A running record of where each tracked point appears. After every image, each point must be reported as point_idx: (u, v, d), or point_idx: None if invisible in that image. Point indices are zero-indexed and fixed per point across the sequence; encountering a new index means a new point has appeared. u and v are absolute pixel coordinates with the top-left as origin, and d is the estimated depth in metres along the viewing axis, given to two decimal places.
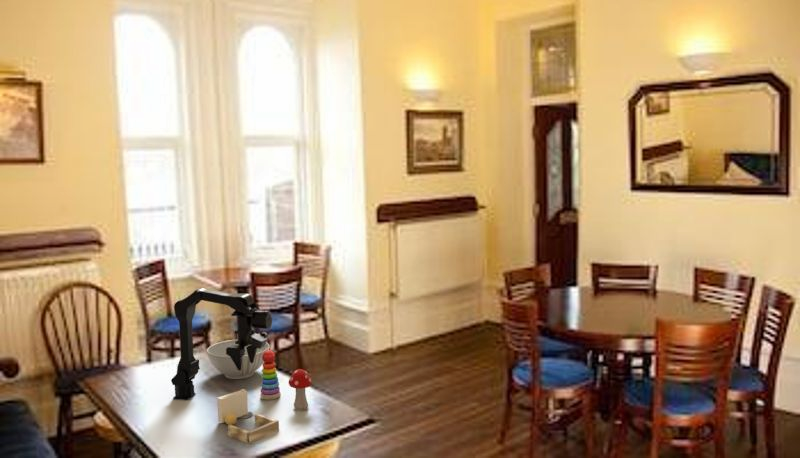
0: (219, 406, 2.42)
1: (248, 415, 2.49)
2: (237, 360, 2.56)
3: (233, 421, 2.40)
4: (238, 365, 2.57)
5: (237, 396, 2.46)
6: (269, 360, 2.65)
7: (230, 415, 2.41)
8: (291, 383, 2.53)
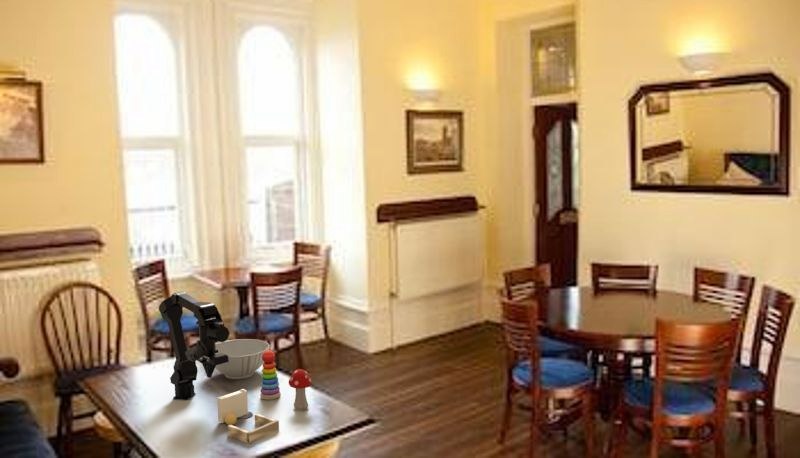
0: (219, 406, 2.42)
1: (248, 415, 2.49)
2: None
3: (233, 421, 2.40)
4: None
5: (237, 396, 2.46)
6: (269, 360, 2.65)
7: (230, 415, 2.41)
8: (291, 383, 2.53)
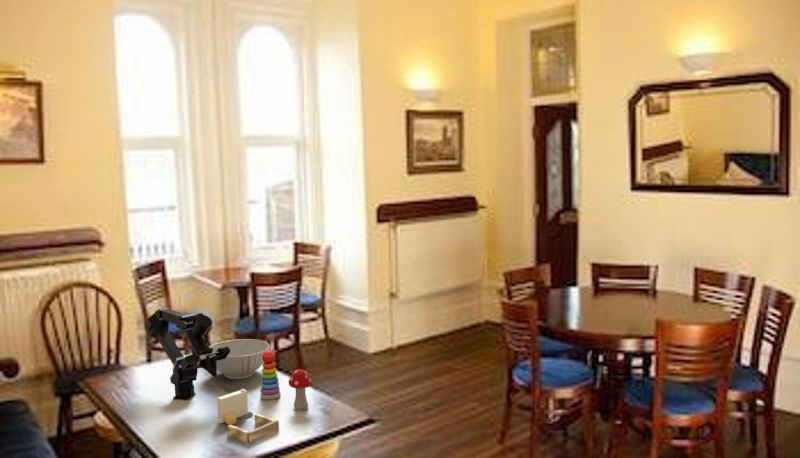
0: (219, 406, 2.42)
1: (248, 415, 2.49)
2: None
3: (233, 421, 2.40)
4: None
5: (237, 396, 2.46)
6: (269, 360, 2.65)
7: (230, 415, 2.41)
8: (291, 383, 2.53)
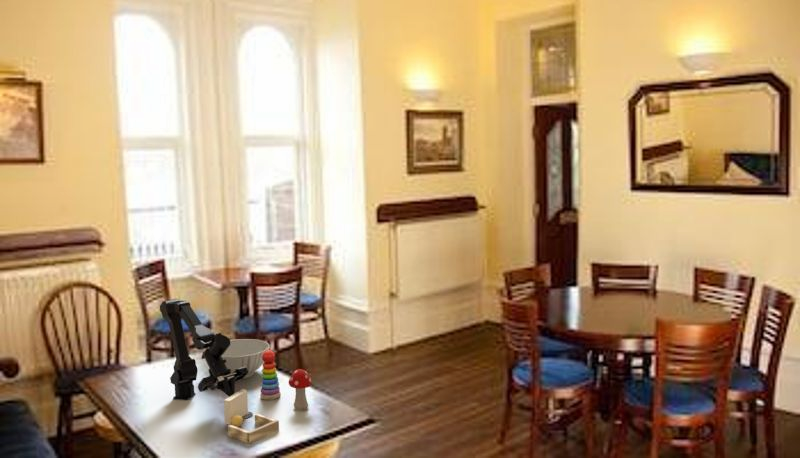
0: (227, 408, 2.40)
1: (248, 415, 2.49)
2: None
3: (236, 426, 2.40)
4: None
5: (241, 396, 2.46)
6: (269, 360, 2.65)
7: (239, 422, 2.39)
8: (291, 383, 2.53)
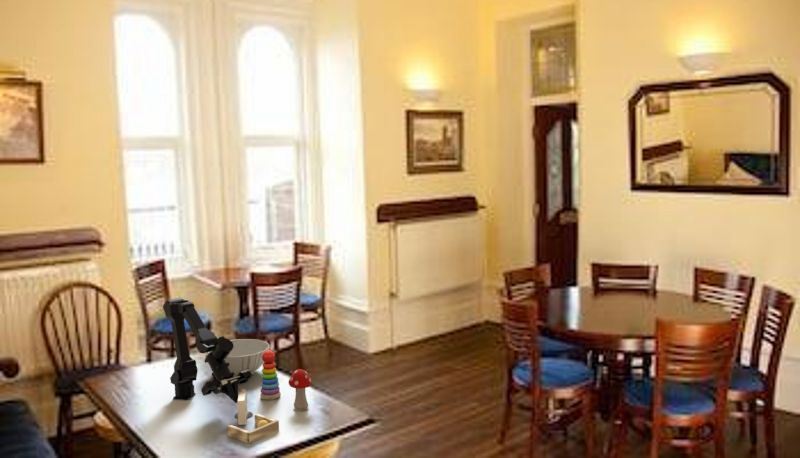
0: (241, 408, 2.40)
1: (248, 415, 2.49)
2: None
3: None
4: None
5: (245, 395, 2.47)
6: (269, 360, 2.65)
7: (264, 424, 2.34)
8: (291, 383, 2.53)
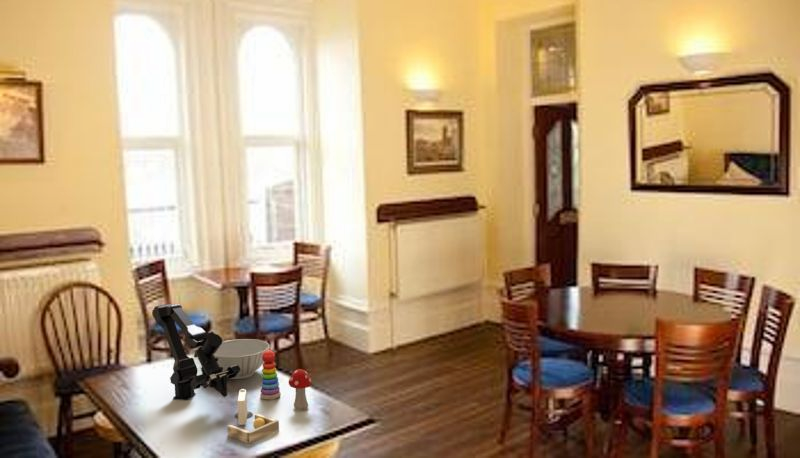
0: (241, 408, 2.40)
1: (248, 415, 2.49)
2: None
3: (260, 422, 2.36)
4: None
5: (245, 395, 2.47)
6: (269, 360, 2.65)
7: (257, 418, 2.38)
8: (291, 383, 2.53)
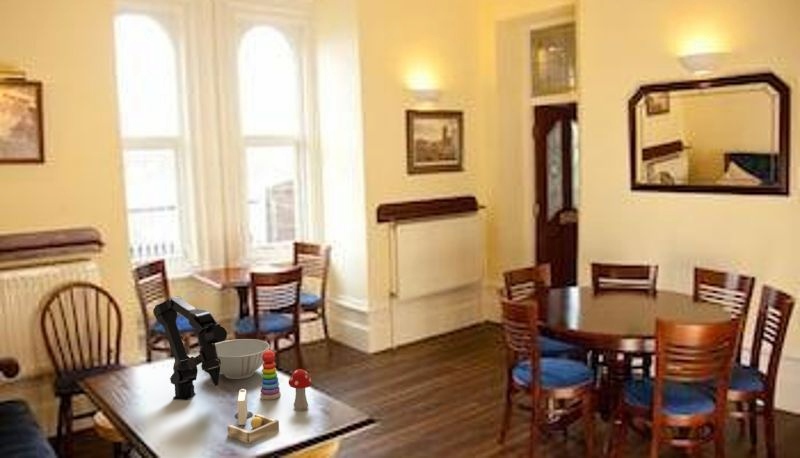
0: (241, 408, 2.40)
1: (248, 415, 2.49)
2: None
3: (255, 418, 2.38)
4: None
5: (245, 395, 2.47)
6: (269, 360, 2.65)
7: None
8: (291, 383, 2.53)
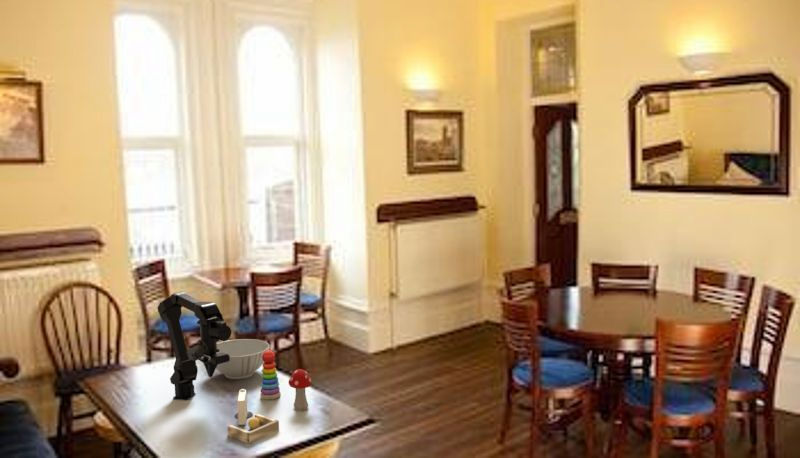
0: (241, 408, 2.40)
1: (248, 415, 2.49)
2: None
3: (250, 419, 2.37)
4: None
5: (245, 395, 2.47)
6: (269, 360, 2.65)
7: None
8: (291, 383, 2.53)
